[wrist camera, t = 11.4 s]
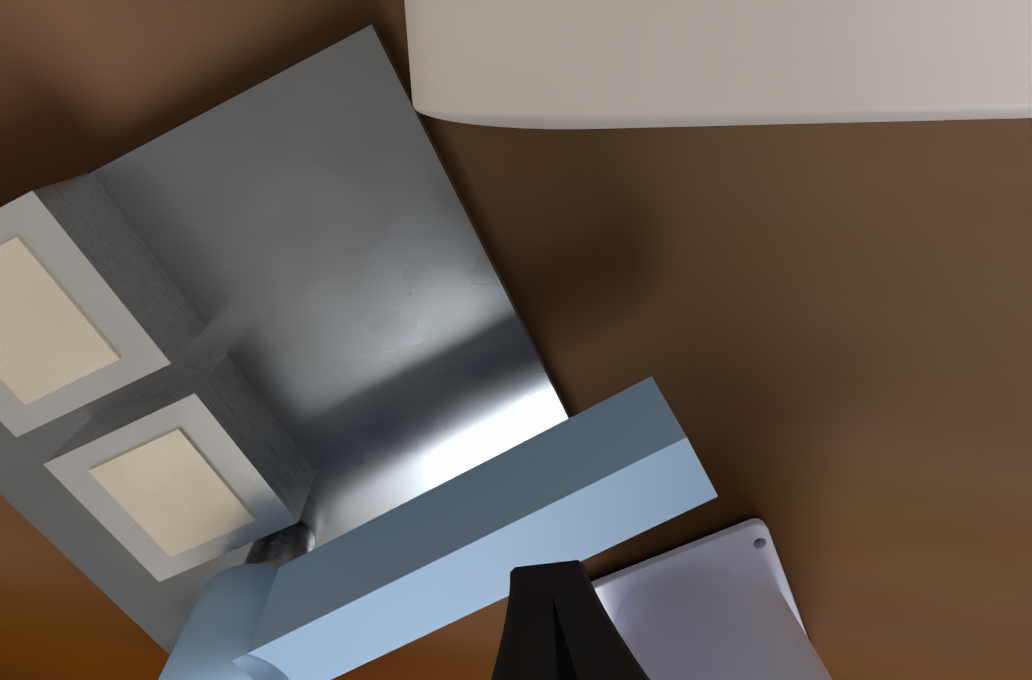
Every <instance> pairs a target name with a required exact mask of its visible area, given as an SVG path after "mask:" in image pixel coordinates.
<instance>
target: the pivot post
mask: <svg viewBox="0 0 1032 680" xmlns="http://www.w3.org/2000/svg"><path fill="white" fill-rule="evenodd" d="M314 544H315V538H314V535H313V533H312V531H311V529H310V528H309V527H308V526H307V525H305V524H304V523H302V522H300V521H298V522H297V523H295V524H293V525H290V526H288V527H286V528H284V529H281V530H279V531H277V532H274V533H272V534H270V535H267V536H265V537H263V538H260V539H258V540H256V541H254V542H253V544H252V546H251V548H250V551H249V553H248V555H247V558H246V560H245V562H244V564H268V565H273V566H277V567H280V566H282V565H284V564H286V563H288V562H290V561H292V560H294V559H296V558H298V557H300V556H302V555H304V554H306V553H308V552H310V551H312V550H313V548H314Z"/></svg>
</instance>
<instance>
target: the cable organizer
mask: <svg viewBox="0 0 1032 680" xmlns="http://www.w3.org/2000/svg"><path fill="white" fill-rule="evenodd" d="M404 3H405V16H406V28H407V41H408V53H409V66H410V78H411V90H412V103H413V107H414V109H415V110H416V111H418V112H420V113H421V114H424V115H427V116H430V117H434V118H437V119H442V120H447V121H452V122H459V123H466V124H474V125H485V126H495V127H510V128H531V129H610V128H650V127H690V126H729V125H769V124H809V123H849V122H889V121H929V120H969V119H1008V118H1032V0H404Z"/></svg>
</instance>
